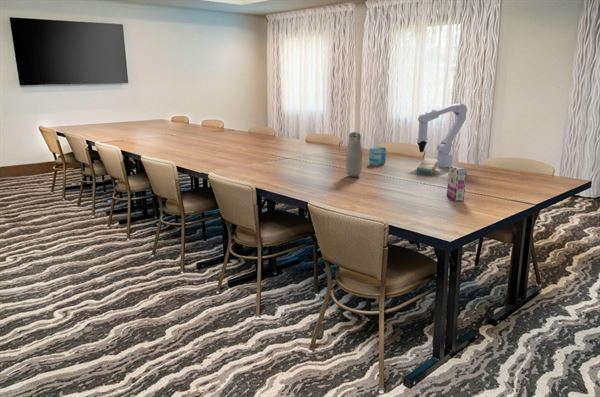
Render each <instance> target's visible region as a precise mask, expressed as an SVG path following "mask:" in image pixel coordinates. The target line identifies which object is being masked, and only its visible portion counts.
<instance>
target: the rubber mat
mask: <svg viewBox="0 0 600 397" xmlns="http://www.w3.org/2000/svg"><path fill="white" fill-rule="evenodd" d="M447 173H448V171H446V170H438V169H436V170H435V171H434V172H433V173H432V175H422V174H417V169H415V170H412V171H410V172H408V173H407V174H408V175H415V176H422V177H423V176H424V177H429V178H439V177H442V176H443V175H446V174H447Z"/></svg>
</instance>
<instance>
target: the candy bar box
mask: <svg viewBox="0 0 600 397" xmlns="http://www.w3.org/2000/svg"><path fill="white" fill-rule="evenodd" d="M466 181H467V169H466V168H464V167H462V166H459V165H452V166H449V167H448V176H447V188H446V190H447V191H446V198H447V197H448V199H451V200H452V201H454V202H464V200H465V193H466V192H465V190H466Z"/></svg>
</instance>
